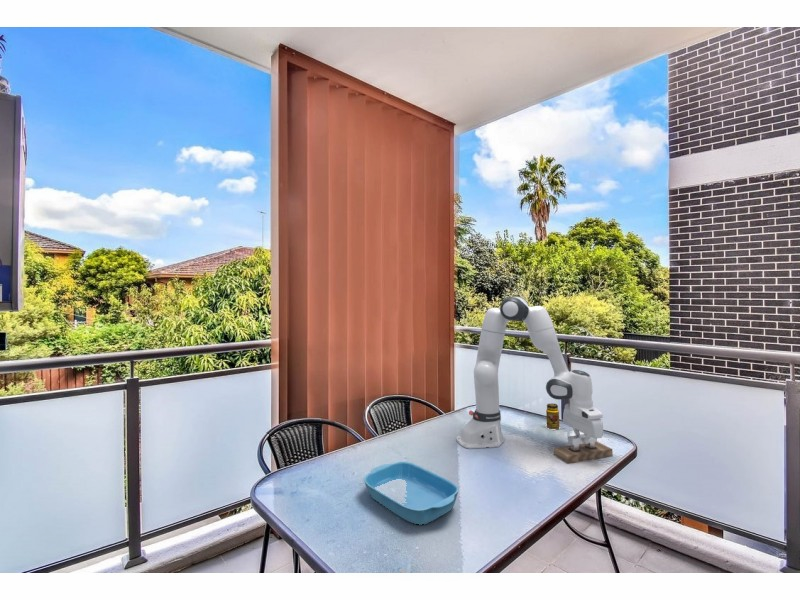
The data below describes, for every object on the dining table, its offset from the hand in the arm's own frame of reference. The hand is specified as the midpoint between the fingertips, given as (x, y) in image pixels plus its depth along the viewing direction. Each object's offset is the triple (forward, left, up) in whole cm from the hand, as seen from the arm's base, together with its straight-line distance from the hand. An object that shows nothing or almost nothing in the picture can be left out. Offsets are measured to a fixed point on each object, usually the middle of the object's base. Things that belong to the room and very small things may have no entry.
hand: (582, 441), depth 162 cm
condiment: (+9, +33, -6) cm, 35 cm away
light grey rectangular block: (0, 0, -5) cm, 5 cm away
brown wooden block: (0, 0, -6) cm, 6 cm away
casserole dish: (-80, -11, -7) cm, 81 cm away
